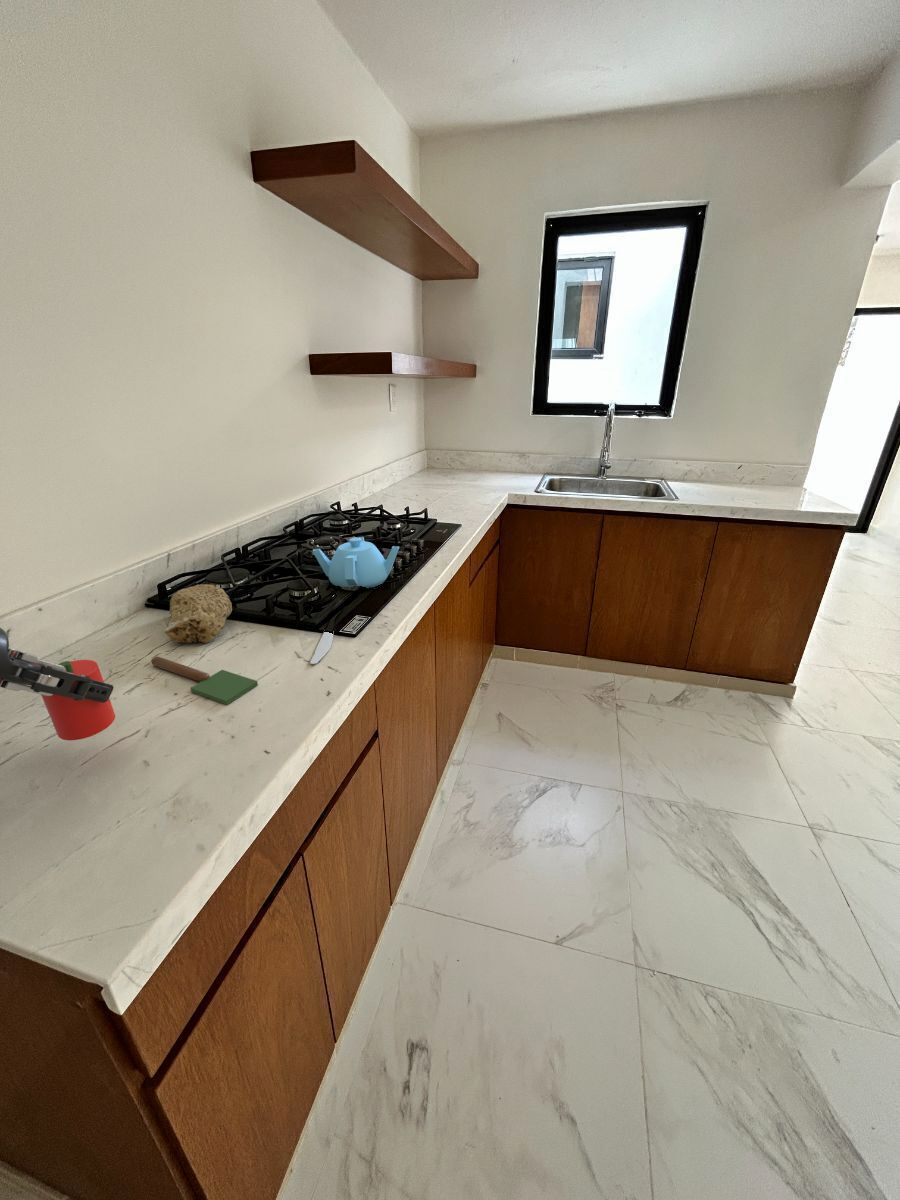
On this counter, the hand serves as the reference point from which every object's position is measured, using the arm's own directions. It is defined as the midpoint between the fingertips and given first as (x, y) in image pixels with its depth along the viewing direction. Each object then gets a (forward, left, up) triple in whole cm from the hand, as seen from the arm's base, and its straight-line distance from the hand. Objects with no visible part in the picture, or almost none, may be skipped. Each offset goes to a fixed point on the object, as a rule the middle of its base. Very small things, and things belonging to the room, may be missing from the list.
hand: (90, 688), depth 62 cm
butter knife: (+3, +40, -9) cm, 41 cm away
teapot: (-7, +62, -10) cm, 63 cm away
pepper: (0, -2, -4) cm, 5 cm away
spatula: (-5, +16, -9) cm, 19 cm away
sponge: (-22, +30, -10) cm, 39 cm away
